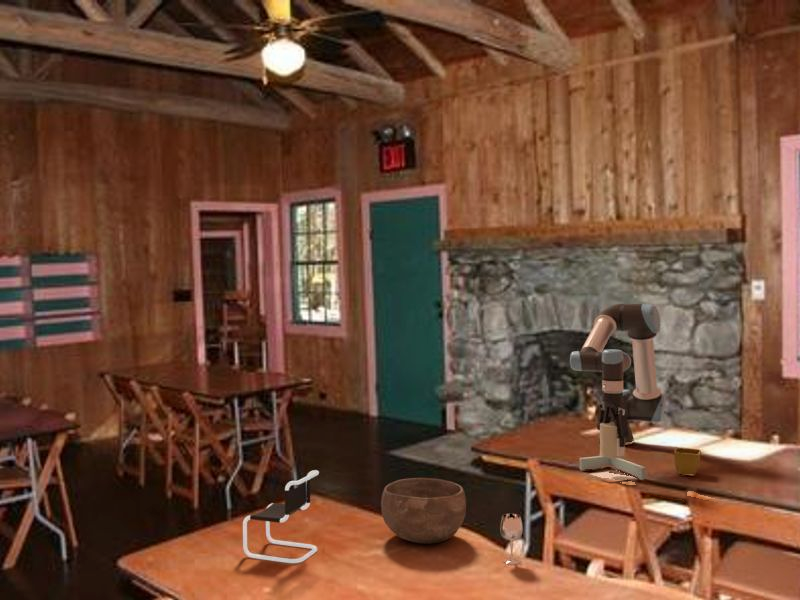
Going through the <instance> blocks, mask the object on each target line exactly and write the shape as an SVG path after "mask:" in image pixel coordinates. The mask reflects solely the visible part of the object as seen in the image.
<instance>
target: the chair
mask: <svg viewBox="0 0 800 600" xmlns="http://www.w3.org/2000/svg"><path fill="white" fill-rule="evenodd" d="M319 473H320V471H319V470H317V469H315V470H314V469H313V470H311V471H309V472H308V473H307V474H306V476H304V477H302V478H300V479H299V480H291V481H288V482H287V483H286V484H285V487H284V503H278V502H271V503H270V504H268V505H267V506H266V508H265V509H264V510H262V511H259V512H258V513H255V514H250V515H247V516H245V517H244V519H243V521H242V547H243V552H244V553H245V555H246V556H248V558H253V559H257V560H265V561H266V560H267V561H272V562H278V563H279V562H281V563H287V564H299V563H302V562H304V561H305V560H307V559H308V558H310V557H311V556H312V555H313V554H315V553H316V552H317V551H318V547H317V546H316V545H314V544H310V543H303V542H302V543H301V542H293V541H286V540H280V539H279V540H278V539H274V538H273V537H272V536H271V527H270V526H271V523H278V524H279V523H280V524H282V523H285V522H286V521H288V519H289V517H290V516H291V515H293V514H294V513H296V512H297V511H304V510H307V509H308V508H309V507H310V505H311V479H314V478H315V477H317V476H318V475H319ZM296 485H297V486H298V485H299V486H298V487H295V488H292V489H290V488H291V486H296ZM250 520H254V521H262V522H265V534H266V535H265V536H266V538H267V540H268V541H269V543H271V544H273V545H281V546H290V547H298V548H304V549H311V550H310V551H309V552H307V553H306V554H304V555H303V556H301V557H298V558H287V557H279V556H273V555H271V556H270V555H265V554H257V553H252V552H250V551H249V549H248V521H250Z"/></svg>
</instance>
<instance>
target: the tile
mask: <svg viewBox="0 0 800 600" xmlns="http://www.w3.org/2000/svg"><path fill="white" fill-rule="evenodd" d="M588 475H589V476H590V475H593V476H597V477H601V478H609V479H615V480H627V479H636V480H637V478H635V477H633V476H630V475H629V476H626V475H620V474H614V473H609V471H603V472H601V471H600V472H592V473H589V474H588Z"/></svg>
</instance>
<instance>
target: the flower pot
mask: <svg viewBox="0 0 800 600" xmlns="http://www.w3.org/2000/svg"><path fill="white" fill-rule="evenodd" d="M701 451H702V450H701V449H698V448H697V449H696V448H685V447H676V448H675V449H674V452H673V453H674V454H673V456H674V465H675V469H676V471H677V473H678V474H679V473H680V474H695V475H696V473H697V472H698V469H699V465H700V461H701V453H702V452H701Z"/></svg>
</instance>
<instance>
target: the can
mask: <svg viewBox="0 0 800 600" xmlns="http://www.w3.org/2000/svg"><path fill="white" fill-rule="evenodd" d="M599 435H600V443H599V456H602V457H607V458H621V459H624V458H625V457H626V456H627V455H626V446H624V456H617V437H618V434H617V426H615V423H614V422H610V423H600V430H599Z"/></svg>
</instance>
